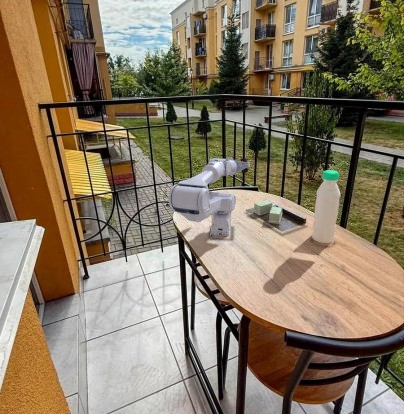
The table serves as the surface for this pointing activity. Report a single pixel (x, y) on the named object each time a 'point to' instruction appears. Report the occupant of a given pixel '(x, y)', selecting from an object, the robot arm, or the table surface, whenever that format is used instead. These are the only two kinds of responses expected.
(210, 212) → the robot arm
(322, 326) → the table surface
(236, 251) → the table surface
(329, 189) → the water bottle
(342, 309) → the table surface
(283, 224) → the dark grey tray
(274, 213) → the pale green block
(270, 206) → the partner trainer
